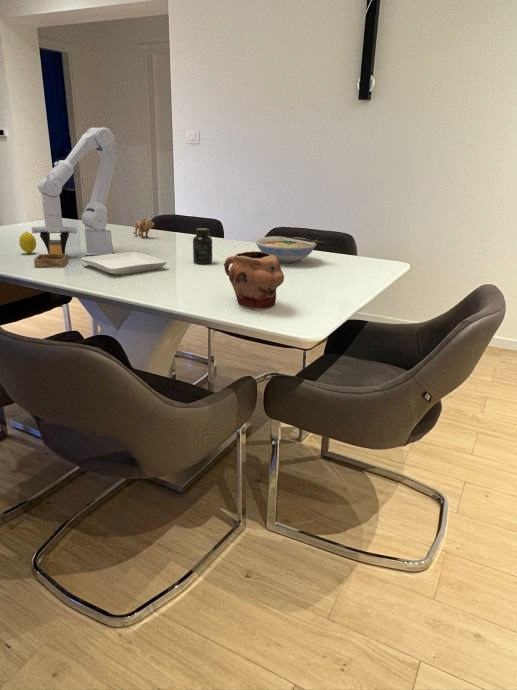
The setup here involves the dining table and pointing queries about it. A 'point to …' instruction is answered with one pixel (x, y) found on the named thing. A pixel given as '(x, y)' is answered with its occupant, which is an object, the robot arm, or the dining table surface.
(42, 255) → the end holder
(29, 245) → the lemon
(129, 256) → the salad plate
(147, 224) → the lion figurine
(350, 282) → the dining table surface
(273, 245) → the ramen bowl
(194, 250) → the supplement bottle
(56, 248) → the honey jar
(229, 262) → the decorative planter
